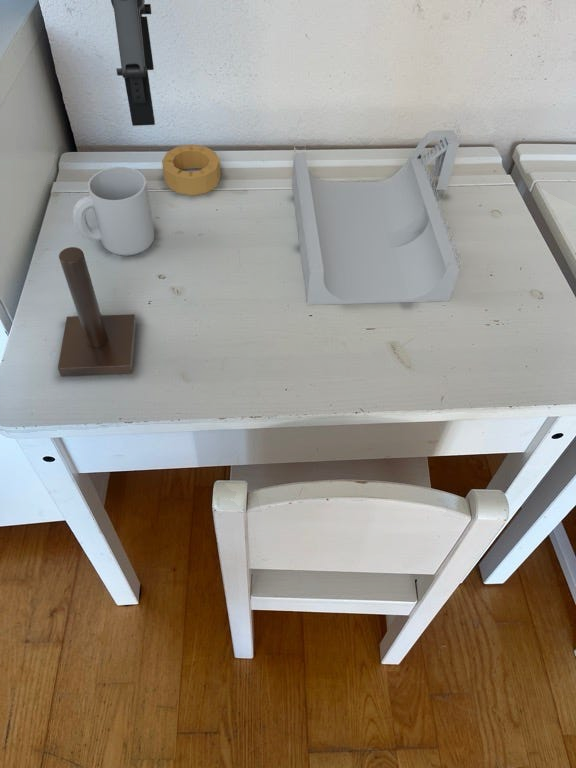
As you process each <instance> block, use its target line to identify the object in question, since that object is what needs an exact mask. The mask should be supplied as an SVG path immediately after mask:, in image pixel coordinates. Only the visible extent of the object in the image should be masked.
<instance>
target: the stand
mask: <svg viewBox="0 0 576 768" xmlns="http://www.w3.org/2000/svg"><path fill="white" fill-rule="evenodd" d="M58 260H59V262H60V265H61V269H62V272H63V274H64V277H65V280H66V283H67V284H66V285H67V286H68V289H69V292H70V296H71V299H72V301H73V304H74V307H75V311H76V314H77V315H73V316H66V317H65V318H66V319H65V324H64V332H63V337H62V341H61V342H62V343H61V347H60V354H59V359H58V364H57V370H58V373H59V375H60V377H63V378H64V377H84V376H86V377H87V376H108V375H109V376H111V375H131V374H133V370H134V369H133V367H134V357H135V345H136V344H135V343H136V334H137V333H136V331H137V320H136V319H137V318H136V315H135V314H134V313H133V314H131V313H129V314H104V315H102V313H101V310H100V306H99V302H98V298H97V295H96V292H95V289H94V285H93V281H92V277H91V275H90V271H89V267H88V264H87V260H86V257H85V254H84V251H83V250H82V249H81V248H79V247H76V246H70V247H67V248H64V249H62V250H61V251H60V252H59V254H58Z"/></svg>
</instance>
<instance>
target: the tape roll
mask: <svg viewBox="0 0 576 768" xmlns="http://www.w3.org/2000/svg"><path fill="white" fill-rule="evenodd" d="M161 164H162V171H163V172H162V173H163V179H164V181H165V184H166V187H167V188H169V189H170V190H171V191H174V192H175V193H177V194H179V195H180V194H181V195H187V196H196V195H197V196H198V195H202V194H207V193H209V192H210V191H212V190H214V189H215V188H217V187H218V185H219V183H220V180H221V177H222V176H221V175H222V173H221V160H220V158H219V156H218V154H217V152H216V151H214V150H212V149H210V148H209V147H207V146H204V145H198V144H187V145H180V146H176V147H174V148H172V149H171V150H169V151H167V152H165V155H164V157H163V159H162V162H161ZM185 169H199V170H194V171H188V170H185Z"/></svg>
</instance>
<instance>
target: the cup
mask: <svg viewBox="0 0 576 768" xmlns="http://www.w3.org/2000/svg"><path fill="white" fill-rule="evenodd" d="M87 190H88V195H83V196H82V197H81V198H79V199H78V200H77V201H76V203H75V204H74V206H73V210H72V221H73V225H74V227H75V229H76V231H77V233H79V235H80V236H81V237H82V238H84V239H85V240H88V241H91V242H93V241H94V242H98V241H101V244H102V246H103V247H104V248H105V249H106V250H107V251H109V252H110V253H113V254H115V255H118V256H127V257H129V256H135V255H139V254H142V253H143V252H144V251H147V250H148V249H149V247H151V246H152V244H153V242H154V240H155V235H156V234H155V227H154V221H153V215H152V214H153V213H152V209H151V208H152V207H151V203H150V197H149V190H148V185H147V180H146V176H145V175H144V174H143V173H142V172H140V171H139V170H137V169H136V168H133V167H129V166H128V167H127V166H112V167H108V168H104V169H102V170H99V171H97V172H96V173H94V174H93V175H92V176H91V177H90V179H89V180H88V183H87ZM90 209H92V210H93V214H94V218H95V221H96V226H97V227H95V228H91V227H90V225H89V223H88V221H87V211H89V210H90Z"/></svg>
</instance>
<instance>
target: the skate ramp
mask: <svg viewBox="0 0 576 768" xmlns="http://www.w3.org/2000/svg"><path fill="white" fill-rule="evenodd" d="M448 123H449V124H454V126H453V125H449V126H447V125H446V126H445V124H448ZM450 127H451V128H453V127H454V128H453V129H445V128H450ZM456 127H457V128H456ZM461 138H462V133H461V131H460V128H459V126H458V123H457V122H456V121H454V122H453V121H452V122H451V121H449V122H444V123H443V129H442V130H440V129H439V130H437V129H435V130H430V131H429V132H427V133H425V135H424V136H423V137H422V139H421V140H420V142H419V143H418V145H417V146H416V147H415V149H413V152H411V155H410V156H409V157H408V158H407V160H406V161H405V163H404V164H403V166H402V167H401V168H400V169H399V170H398V171H397V172H396V173H395V174H393V175H391V176H390V177H388V178H386V179H382V180H379V181H342V182H341V181H339V182H337V181H334V182H332V181H325V180H321V179H319V178H317V177H316V176H314V174H312V173H311V172H310V170H309V167H308V161H307V155H306V152H296V150H297V149H296V146H299V147H300V146H301V147H303V146H304V147H305V148H304V149H306V146H307V145H306V144H302V145H300V144H297V145H296V144H295V145H294V147H293V156H292V157H293V159H292V161H293V162H292V179H291V181H292V182H291V189H292V196H293V197H292V198H293V205H294V211H295V220H296V227H297V235H298V243H299V250H300V260H301V266H302V267H301V268H302V274H303V275H302V276H303V282H304V283H303V284H304V289H305V290H304V291H305V299H306V306H316V305H317V306H318V305H321V306H322V305H354V304H356V305H357V304H359V305H360V304H387V303H388V304H391V303H396V304H397V303H425V302H426V303H428V302H450V300H451V298H452V294H453V292H454V290H455V286H456V283H457V279H458V277H459V274H460V271H461V266H462V263H463V261H462V258H461V255H460V252H459V250H458V247H457V244H456V242H455V239H454V236H453V232H452V229H451V227H450V224H449V222H448V219H447V216H446V212H445V210H444V207H443V204H442V201H441V198H440V195H439V193H438V191H441V190H442V191H444V193H443V198H444V197H445V195H446V192H447V190H448V187H449V183H450V180H451V177H452V173H453V168H454V165H455V161H456V158H457V154H458V151H459V147H460V142H461V140H462V139H461ZM436 140H438V143H437V144H434V147H431V148H430V149H428V150H427V152H424V153H423V150H424V149H425V148H426V147H427V145H428V144H429V143H431V142H433V141H436ZM422 153H423V154H424V155H422ZM433 161H434V163H433V168H432V172H431V170H430V167H429V164H430V163H431V162H433ZM433 177H435V179H433ZM437 177H438V179H437ZM436 181H437V185H436ZM438 199H439V200H438ZM441 207H442V208H441ZM446 222H447V223H446ZM449 231H450V232H449ZM452 239H453V240H452ZM456 250H457V252H456ZM458 256H459V258H458Z"/></svg>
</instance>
